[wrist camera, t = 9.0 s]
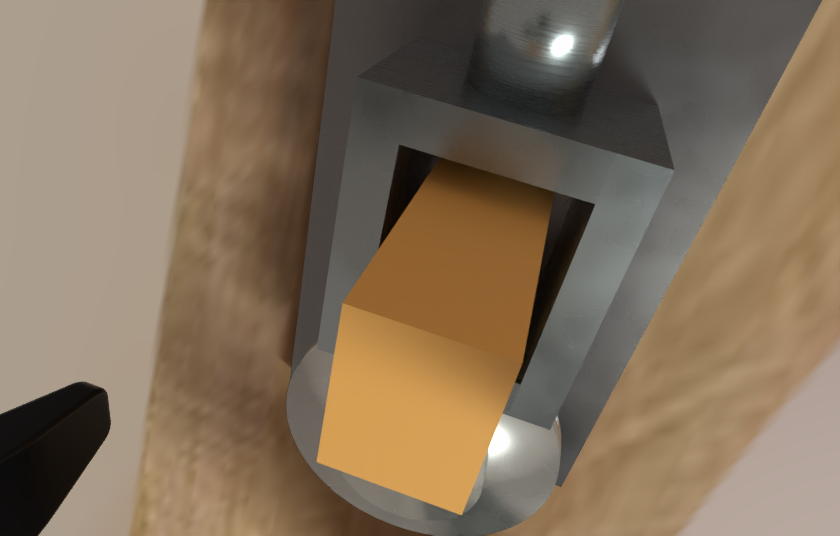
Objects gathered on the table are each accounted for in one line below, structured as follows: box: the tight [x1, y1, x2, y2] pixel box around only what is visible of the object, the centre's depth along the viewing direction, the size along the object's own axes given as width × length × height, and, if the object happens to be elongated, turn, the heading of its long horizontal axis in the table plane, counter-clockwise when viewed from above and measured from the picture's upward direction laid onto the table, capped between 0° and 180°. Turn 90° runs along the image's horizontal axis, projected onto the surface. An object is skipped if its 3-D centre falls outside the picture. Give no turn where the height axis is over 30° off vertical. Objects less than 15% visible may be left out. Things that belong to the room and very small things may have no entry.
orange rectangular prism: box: [317, 157, 554, 515], centre depth 15 cm, size 3×4×10 cm
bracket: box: [286, 0, 822, 536], centre depth 19 cm, size 12×20×6 cm, turn 168°
